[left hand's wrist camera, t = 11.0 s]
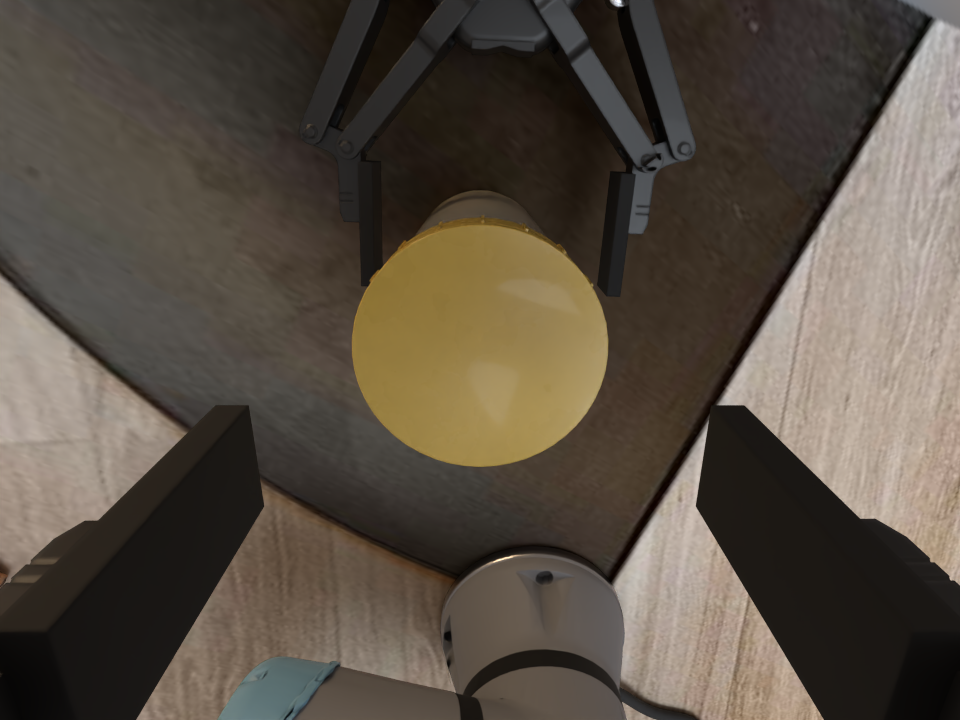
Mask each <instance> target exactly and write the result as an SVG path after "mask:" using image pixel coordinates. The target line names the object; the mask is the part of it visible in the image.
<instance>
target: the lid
mask: <svg viewBox="0 0 960 720" xmlns="http://www.w3.org/2000/svg"><path fill="white" fill-rule="evenodd" d="M566 253H567V252H566V251H565V250H564V249H563V247H562V246H561V245H560V244H558V245H556V244H555V243H554V242H552V241H551V240H550V239H548V238H547V237H545V236H544V235H542V234H540V233H538V232H537V231H535V230H533V229H531V228H529V227H527V226H526V224H525V223H522V225H520V224H518V223H515V222H511V221H506V220H502V219H497V218H484V215H481V217H478V218H463V219H459V220H454V221H449V222H445V223H443V222H442V221H441V222H439V224H438V225H437V226H434V227H431V228H429V229H427V230H425V231H424V232H422V233H420V234H418V235H416V236H415V237H413V238H412V239H410V240H409V241H408V242H406V240H405V241H404V242H403V243H402V244H401V245H400V247H399V248H398V250H397V251H396V252H395V253H394V254H393V255H392V256H391V257H390V258H389V260H388V261H387V262H386V263H385V265H384V266H383V267H382V268H381V269H380V271H379V270H377V272H376V273H375V274H374V275H373V276H372V278H371V279H370V280H369V281H370V282H371V283H370V285H369V286H368V288H367V290H366V291H365V293H364V295H363V298H362V300H361V302H360V305H359V307H358V310H357V314H356V316H355V318H354V320H355V321H354V327H353V334H352V357H353V364H354V371H355V374H356V377H357V381H358V384H359V387H360V389H361V391H362V393H363V396H364V398H365V400H366V402H367V403H368V405H369V407H370V408H371V410H372V411H373V413H374V414H375V415H376V417H377V418H378V419H379V420H380V422H381V423H382V424H383V425H384V426H385V427H386V428H387V429H388V430H389V431H390V432H391V433H392V434H393V435H394V436H395V437H397V438H398V439H399V440H401V441H402V442H403V443H405V444H406V445H408V446H409V447H411V448H413V449H415V450H416V451H418V452H420V453H422V454H424V455H427V456H429V457H431V458H434V459H437V460H440V461H444V462H447V463H451V464H457V465H463V466H476V467H484V466H497V465H503V464H509V463H513V462H516V461H520V460H523V459H526V458H529V457H531V456H533V455H536V454H538V453H540V452H542V451H544V450H545V449H547V448H549V447H551V446H552V445H554V444H555V443H557V442H558V441H559V440H561V439H562V438H563V437H565V436H566V435H567V434H568V433H569V432H570V431H571V430H572V429H573V428H574V427H575V426H576V425H577V424H578V423H579V422H580V421H581V419H582V418H583V417H584V416H585V414H586V413H587V412H588V410H589V408H590V407H591V405H592V403H593V402H594V400H595V398H596V396H597V394H598V391H599V389H600V387H601V384H602V381H603V378H604V374H605V371H606V364H607V358H608V334H607V326H606V325H607V323H606V321H605V317H604V314H603V310H602V307H601V304H600V302H599V300H598V297H597V295H596V293H595V291H594V289H593V288H592V286H593V284H592V282H591V281H590V280H589V279H588V277H587V276H586V275H585V274H583V273H582V272H581V271H580V269H579V268H578V267H577V266H576V264H575V263H574V262H573V261H572V260H571V258H570V257H569V256H568V255H567V254H566Z"/></svg>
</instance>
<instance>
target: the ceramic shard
mask: <svg viewBox="0 0 960 720" xmlns="http://www.w3.org/2000/svg"><path fill="white" fill-rule="evenodd" d="M6 578H7V575H6V574H3V573H0V588H1V587H2V586H3V584H4V583H5V581H6Z"/></svg>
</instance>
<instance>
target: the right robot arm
mask: <svg viewBox="0 0 960 720" xmlns="http://www.w3.org/2000/svg"><path fill="white" fill-rule="evenodd" d="M581 1H582V0H432V2H433V4H434V5H435V7H436V10H435V11H434V12H433V14H432V15H431V16H430V17H429V19H428V20H427V21H426V23H425V24H424V25H423V27H422V28H421V29H420V31H419V33H418V35H417V37H416V39H415V40H414V41H413V43H412V44H411V45H410V46H409V48H408V49H407V50H406V52H405V53H404V54H403V55H402V57H401V58H400V59H399V61H398V62H397V63H396V64H395V66H394V67H393V68H392V70H391V71H390V72H389V73H388V75H387V76H386V77H385V78H384V80H383V81H382V82H381V84H380V85H379V86H378V87H377V89H376V90H375V91H374V93H373V94H372V95H371V96H370V98H369V99H368V100H367V102H366V103H365V104H364V105H363V107H362V108H361V109H360V111H359V112H358V113H357V114H356V116H355V117H354V118H353V120H352V121H351V122H350V123H349V125H348V126H347V127H346V128H345V130H342V129H340V128H338V126H339V124H340V122H341V119H342V117H343V115H344V112H345V110H346V108H347V105H348V103H349V101H350V98H351V96H352V94H353V92H354V89H355V87H356V85H357V82H358V80H359V78H360V75H361V73H362V71H363V68H364V66H365V64H366V61H367V59H368V57H369V55H370V52H371V50H372V48H373V45H374V43H375V41H376V38H377V36H378V34H379V31H380V29H381V27H382V24H383V22H384V19H385V17H386V14H387V10H388V6H389V2H390V0H351V2H350V5H349V7H348V10H347V12H346V15H345V17H344V20H343V22H342V24H341V27H340V29H339V32H338V34H337V37H336V39H335V41H334V44H333V46H332V49H331V51H330V54H329V56H328V58H327V61H326V63H325V66H324V68H323V71H322V73H321V75H320V78H319V80H318V83H317V85H316V88H315V90H314V93H313V95H312V97H311V100H310V102H309V105H308V107H307V110H306V112H305V114H304V117H303V119H302V122H301V124H300V128H299V134H300V137H301V138H302V140H303V141H304V142H306V143H308V144H311V145H314V146H317V147H319V148H322V149H324V150H326V151H328V152H330V153H331V154H332V155H334V157H335V158H336V160H337V163H338V176H339V200H340V213H341V216H342V218H343V220H344V222H359V224H360V257H361V286H369V285H370V283H371V282H370V281H369V280H370V279H371V278H372V276H373V275H374V274H375V273H376V272H377V270H379V271H380V269H381V268H382V267H383V263H382V204H381V161H366V156H367V154H366V153H367V152H368V150H369V149H370V148H371V147H372V146H373V144H374V143H375V142H376V141H377V139H378V138H379V137H380V136H381V134H382V133H383V132H384V131H385V129H386V128H387V127H388V126H389V124H390V123H391V122H392V121H393V119H394V118H395V117H396V116H397V114H398V113H399V112H400V111H401V109H402V108H403V107H404V106H405V104H406V103H407V102H408V101H409V99H410V98H411V97H412V96H413V94H414V93H415V92H416V91H417V89H418V88H419V87H420V86H421V84H422V83H423V82H424V81H425V79H426V78H427V77H428V76H429V75H430V73H431V72H432V71H433V70H434V68H435V67H436V66H437V65H438V64H439V63H440V62H441V61H442V60H443V59H444V58H445V57H446V55H447V54H448V53H449V52H450V50H451V49H452V48H453V47H454V45H455V44H456V43H458V44H459V45H460V46H461V47H462V48H463V49H465V50H467V51H469V52H472V55H490V54H494V53H498V52H504V53H507V54H510V55H513V56H516V57H530V58H531V57H532V55H536V54H538V53H540V52H542V51H543V50H545V49H546V48H548V50H549V51H550V53H551V55H552V56H553V58H554V59H555V61H556V62H557V64H558V65H559V66H560V67H561V68H562V69H563V70H564V71H565V73H566V74H567V76H568V77H569V79H570V80H571V82H572V84H573V85H574V87H575V88H576V90H577V91H578V93H579V94H580V96H581V97H582V99H583V100H584V102H585V103H586V105H587V107H588V108H589V110H590V111H591V113H592V114H593V116H594V117H595V119H596V120H597V122H598V123H599V125H600V126H601V128H602V130H603V131H604V133H605V134H606V136H607V137H608V139H609V140H610V142H611V143H612V145H613V146H614V148H615V149H616V151H617V153H618V154H619V156H620V157H621V159H622V160H623V162H624V163H625V165H626V172H613V171H610V179H609V188H608V197H607V205H606V214H605V223H604V231H603V240H602V249H601V257H600V266H599V275H598V283H597V285H598V287H599V288H600V289H601V290H602V291H603V293H604V294H605V295H606V296H614V297H620V293H621V285H622V278H623V270H624V262H625V255H626V247H627V239H628V234H643V232H644V231H645V229H646V227H647V225H648V218H649V210H650V203H651V196H652V189H653V182H654V178H655V175H656V173H657V172H658V171H659V170H660V169H661V168H663V167H665V166H668V165H671V164H674V163H677V162H680V161H686V160H689V159H690V158H692V156H693V155H694V154H695V150H696V143H695V140H694V137H693V133H692V130H691V126H690V123H689V120H688V116H687V113H686V110H685V106H684V103H683V99H682V96H681V93H680V89H679V86H678V83H677V79H676V76H675V72H674V69H673V66H672V62H671V59H670V56H669V52H668V49H667V45H666V42H665V39H664V35H663V32H662V29H661V25H660V22H659V18H658V15H657V12H656V8H655V5H654V0H605V4H606V6H607V7H608V8H609V9H611V10H613V11H617V15H618V22H619V27H620V31H621V35H622V38H623V41H624V44H625V47H626V50H627V53H628V57H629V60H630V63H631V66H632V69H633V72H634V75H635V79H636V82H637V85H638V88H639V91H640V94H641V97H642V100H643V104H644V107H645V110H646V113H647V116H648V119H649V122H650V126H651V129H652V132H653V135H654V138H655V141H656V142H655V143H651V142H650V140H649V138H648V137H647V135H646V134H645V132H644V131H643V129H642V127H641V126H640V124H639V123H638V121H637V119H636V118H635V116H634V115H633V113H632V111H631V110H630V108H629V107H628V105H627V104H626V102H625V100H624V99H623V97H622V96H621V94H620V92H619V91H618V89H617V88H616V86H615V84H614V83H613V81H612V80H611V78H610V77H609V75H608V73H607V72H606V70H605V69H604V67H603V65H602V64H601V62H600V61H599V59H598V57H597V56H596V54H595V53H594V51H593V50H592V48H591V46H590V42H589V39H588V37H587V35H586V34H585V32H584V30H583V29H582V27H581V26H580V24H579V23H578V21H577V19H576V18H575V16H574V15H573V12H574V11H575V10H576V8H577V7H578V6H579V4H580V3H581Z"/></svg>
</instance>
